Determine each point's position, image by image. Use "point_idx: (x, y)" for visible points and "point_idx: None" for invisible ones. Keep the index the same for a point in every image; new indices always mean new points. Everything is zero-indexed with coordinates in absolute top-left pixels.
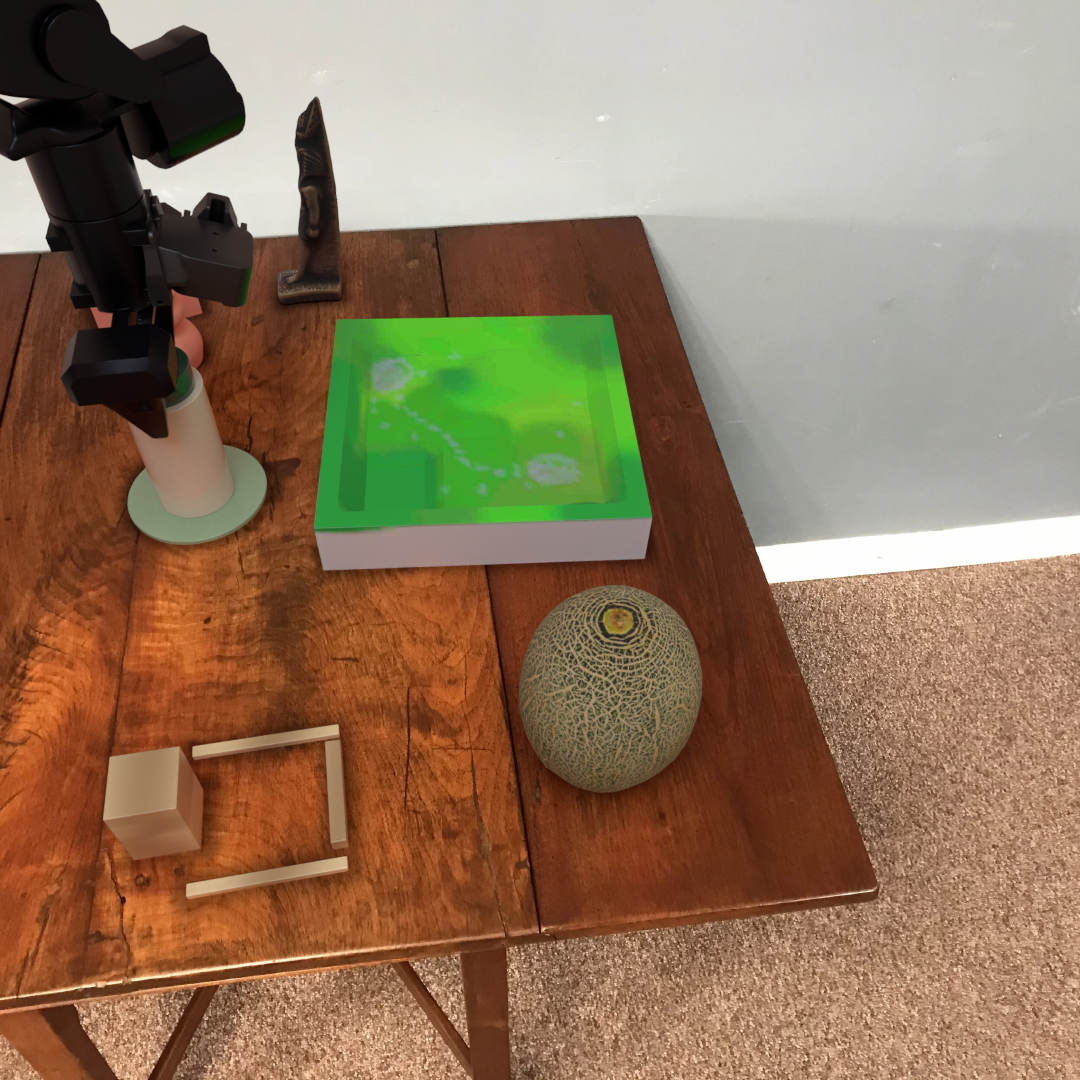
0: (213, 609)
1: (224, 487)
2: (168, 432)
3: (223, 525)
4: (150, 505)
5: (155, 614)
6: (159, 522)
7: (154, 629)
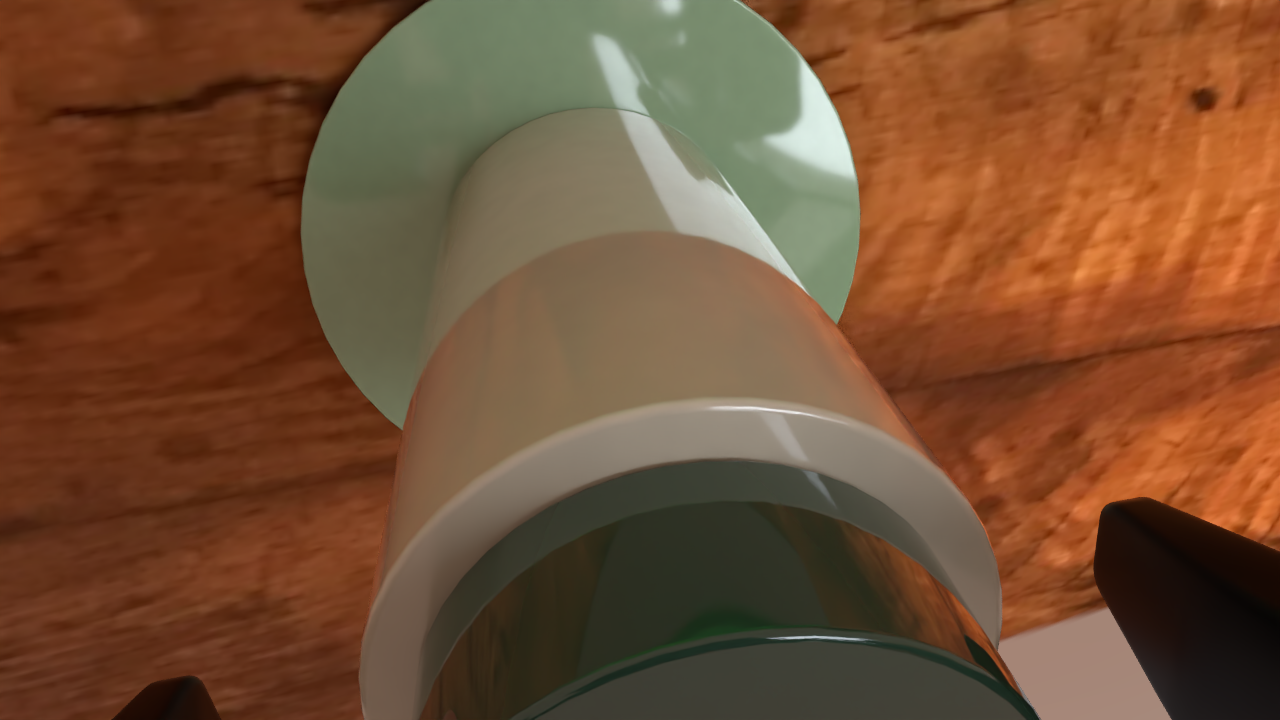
0: (1162, 87)
1: (673, 141)
2: (1155, 509)
3: (794, 119)
4: None
5: (1126, 277)
6: None
7: (1184, 267)
